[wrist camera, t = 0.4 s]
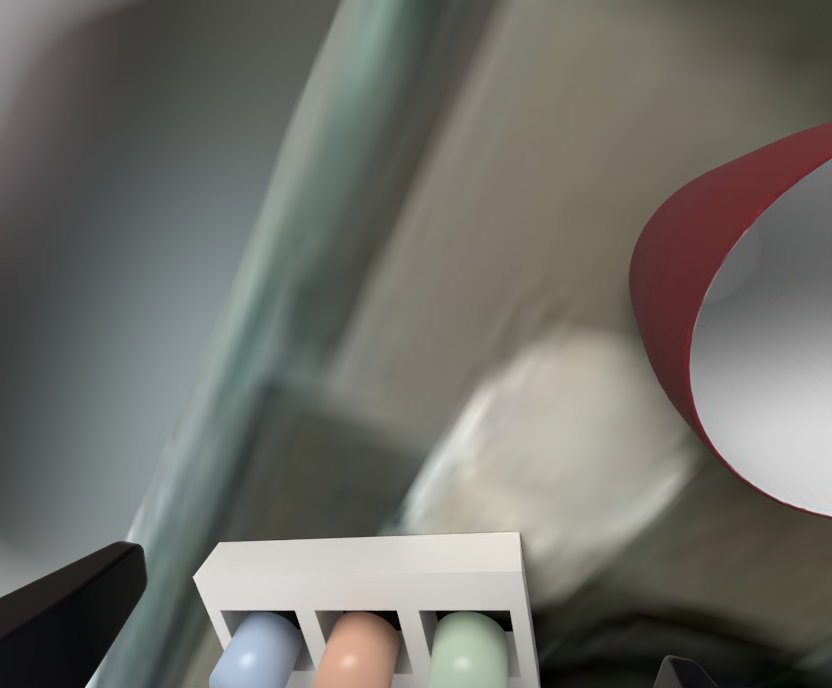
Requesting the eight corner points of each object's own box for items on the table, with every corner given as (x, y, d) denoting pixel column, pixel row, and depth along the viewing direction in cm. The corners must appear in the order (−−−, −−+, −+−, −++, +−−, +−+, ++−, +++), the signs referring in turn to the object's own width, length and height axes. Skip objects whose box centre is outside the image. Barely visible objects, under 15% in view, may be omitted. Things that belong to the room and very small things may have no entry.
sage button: (511, 665, 23) (513, 731, 21) (441, 664, 24) (433, 727, 21) (502, 611, 22) (503, 673, 19) (428, 611, 23) (419, 671, 20)
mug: (729, 17, 15) (1098, -234, 6) (943, 138, 15) (1632, 82, 6) (549, 294, 19) (597, 408, 10) (720, 388, 19) (928, 588, 10)
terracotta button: (405, 663, 25) (394, 725, 22) (341, 661, 25) (322, 721, 23) (391, 611, 23) (377, 670, 21) (325, 611, 24) (303, 667, 21)
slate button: (309, 660, 26) (286, 719, 23) (251, 659, 26) (222, 716, 24) (292, 611, 25) (266, 666, 22) (231, 611, 25) (199, 664, 23)
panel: (538, 662, 26) (542, 710, 24) (264, 656, 30) (244, 697, 27) (519, 531, 23) (521, 571, 21) (219, 542, 27) (192, 577, 25)
